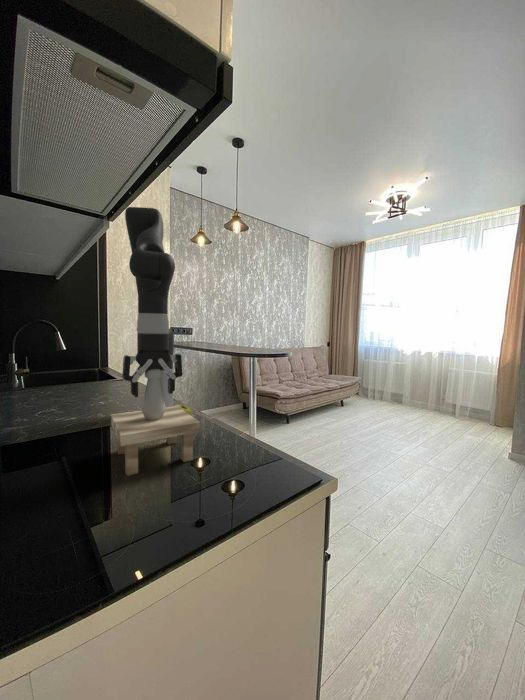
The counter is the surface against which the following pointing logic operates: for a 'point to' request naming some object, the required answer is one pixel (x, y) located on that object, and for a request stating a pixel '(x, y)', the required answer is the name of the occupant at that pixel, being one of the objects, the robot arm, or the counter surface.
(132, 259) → the robot arm
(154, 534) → the counter surface
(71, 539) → the counter surface
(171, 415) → the footstool
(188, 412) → the apple
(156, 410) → the salt shaker
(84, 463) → the counter surface
